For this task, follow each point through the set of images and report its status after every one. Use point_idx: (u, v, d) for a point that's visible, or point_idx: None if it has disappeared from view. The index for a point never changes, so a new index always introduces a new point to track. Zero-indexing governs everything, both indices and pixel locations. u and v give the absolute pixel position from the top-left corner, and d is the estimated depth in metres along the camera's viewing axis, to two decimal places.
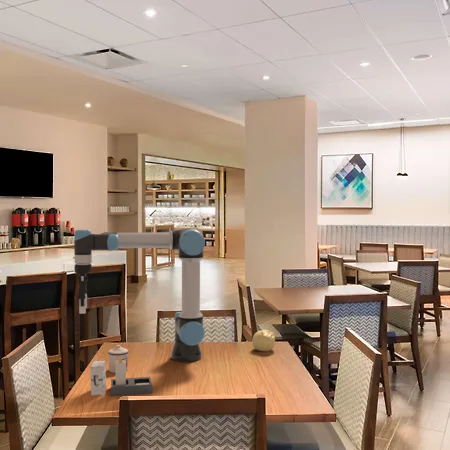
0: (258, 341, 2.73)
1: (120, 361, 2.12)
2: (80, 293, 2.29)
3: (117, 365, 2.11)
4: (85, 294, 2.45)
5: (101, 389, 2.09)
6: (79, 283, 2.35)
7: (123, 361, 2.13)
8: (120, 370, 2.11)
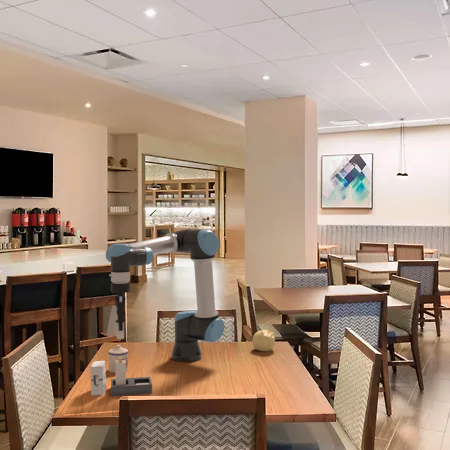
0: (258, 341, 2.73)
1: (120, 361, 2.12)
2: (119, 316, 2.03)
3: (117, 365, 2.11)
4: None
5: (101, 389, 2.09)
6: (116, 304, 2.08)
7: (123, 361, 2.13)
8: (120, 370, 2.11)
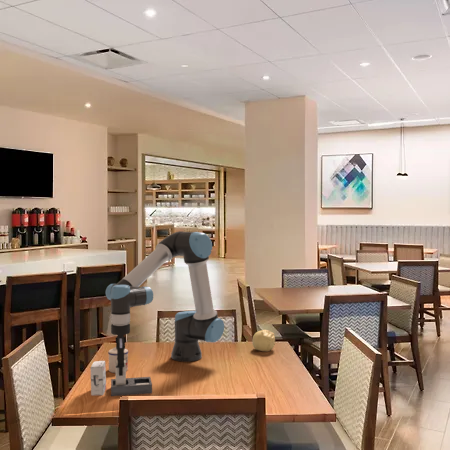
0: (258, 341, 2.73)
1: None
2: (119, 362, 2.07)
3: None
4: None
5: (101, 389, 2.09)
6: (117, 348, 2.10)
7: None
8: None
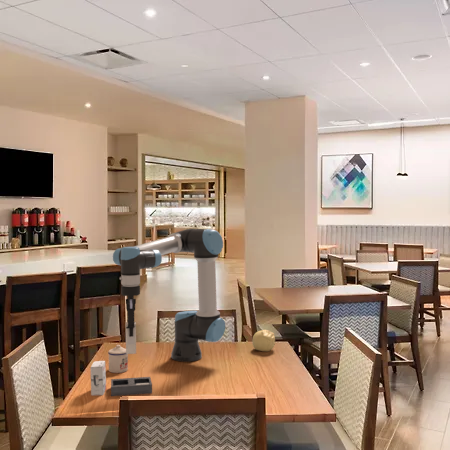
0: (258, 341, 2.73)
1: None
2: (129, 323, 2.08)
3: (127, 326, 2.11)
4: None
5: (101, 389, 2.09)
6: (127, 309, 2.11)
7: None
8: None
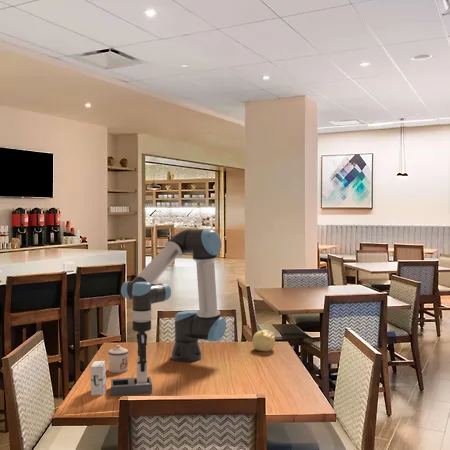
0: (258, 341, 2.73)
1: None
2: (141, 358, 2.07)
3: None
4: None
5: (101, 389, 2.09)
6: (138, 344, 2.11)
7: None
8: None
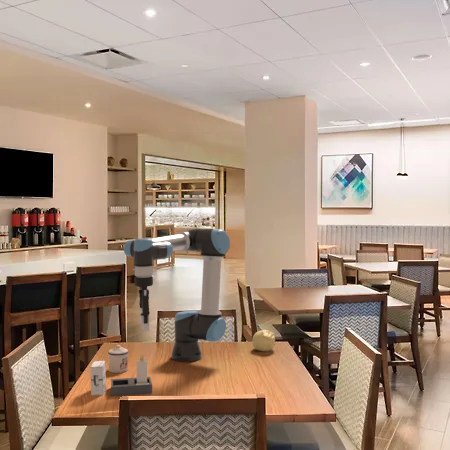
0: (258, 341, 2.73)
1: (141, 360, 2.13)
2: (144, 309, 2.08)
3: (139, 364, 2.13)
4: None
5: (101, 389, 2.09)
6: (141, 298, 2.13)
7: (144, 360, 2.15)
8: (142, 369, 2.13)
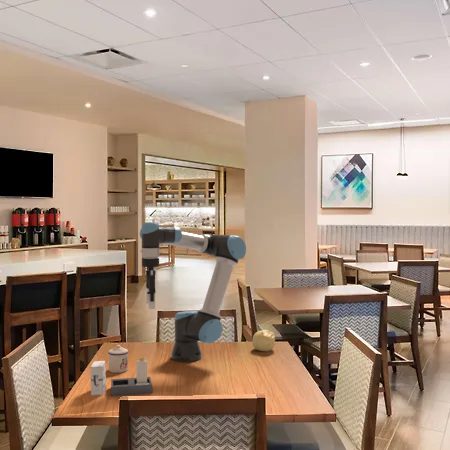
0: (258, 341, 2.73)
1: (141, 360, 2.13)
2: (150, 288, 2.21)
3: (139, 364, 2.13)
4: None
5: (101, 389, 2.09)
6: (147, 277, 2.27)
7: (144, 360, 2.15)
8: (142, 369, 2.13)
